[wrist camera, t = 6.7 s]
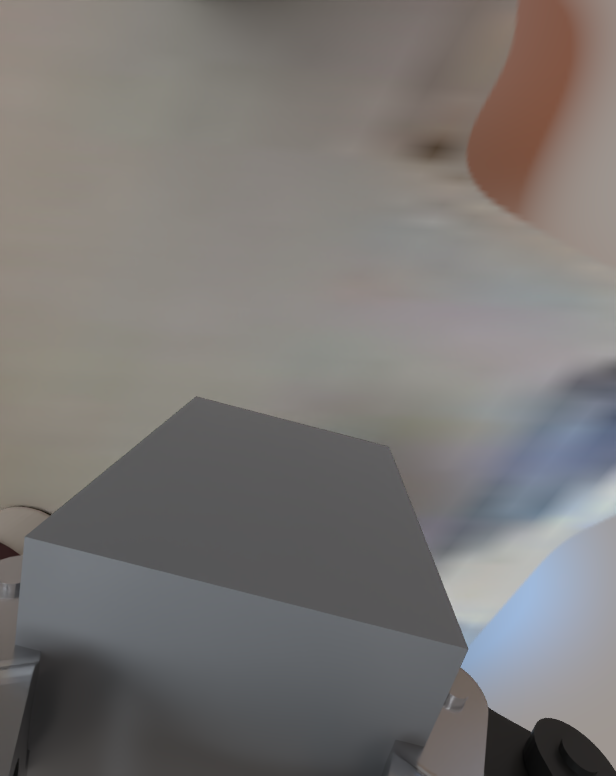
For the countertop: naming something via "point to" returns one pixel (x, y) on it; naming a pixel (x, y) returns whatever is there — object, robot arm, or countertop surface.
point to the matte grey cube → (235, 608)
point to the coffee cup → (17, 528)
